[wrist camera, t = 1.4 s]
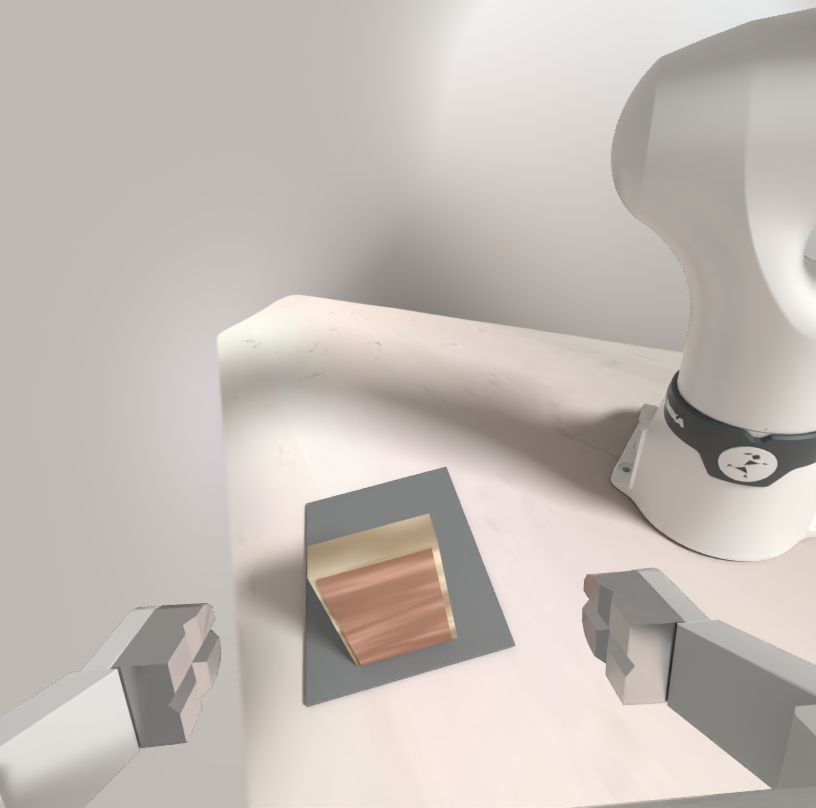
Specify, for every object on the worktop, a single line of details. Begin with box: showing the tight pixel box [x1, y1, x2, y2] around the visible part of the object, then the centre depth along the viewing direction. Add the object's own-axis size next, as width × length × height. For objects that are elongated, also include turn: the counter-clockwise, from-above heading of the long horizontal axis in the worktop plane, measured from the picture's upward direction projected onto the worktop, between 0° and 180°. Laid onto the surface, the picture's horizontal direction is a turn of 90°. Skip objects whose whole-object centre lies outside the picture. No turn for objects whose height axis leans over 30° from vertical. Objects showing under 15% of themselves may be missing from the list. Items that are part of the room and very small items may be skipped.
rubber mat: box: [306, 467, 515, 707], centre depth 44 cm, size 22×18×1 cm
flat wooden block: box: [307, 514, 457, 666], centre depth 33 cm, size 3×9×14 cm, turn 101°
